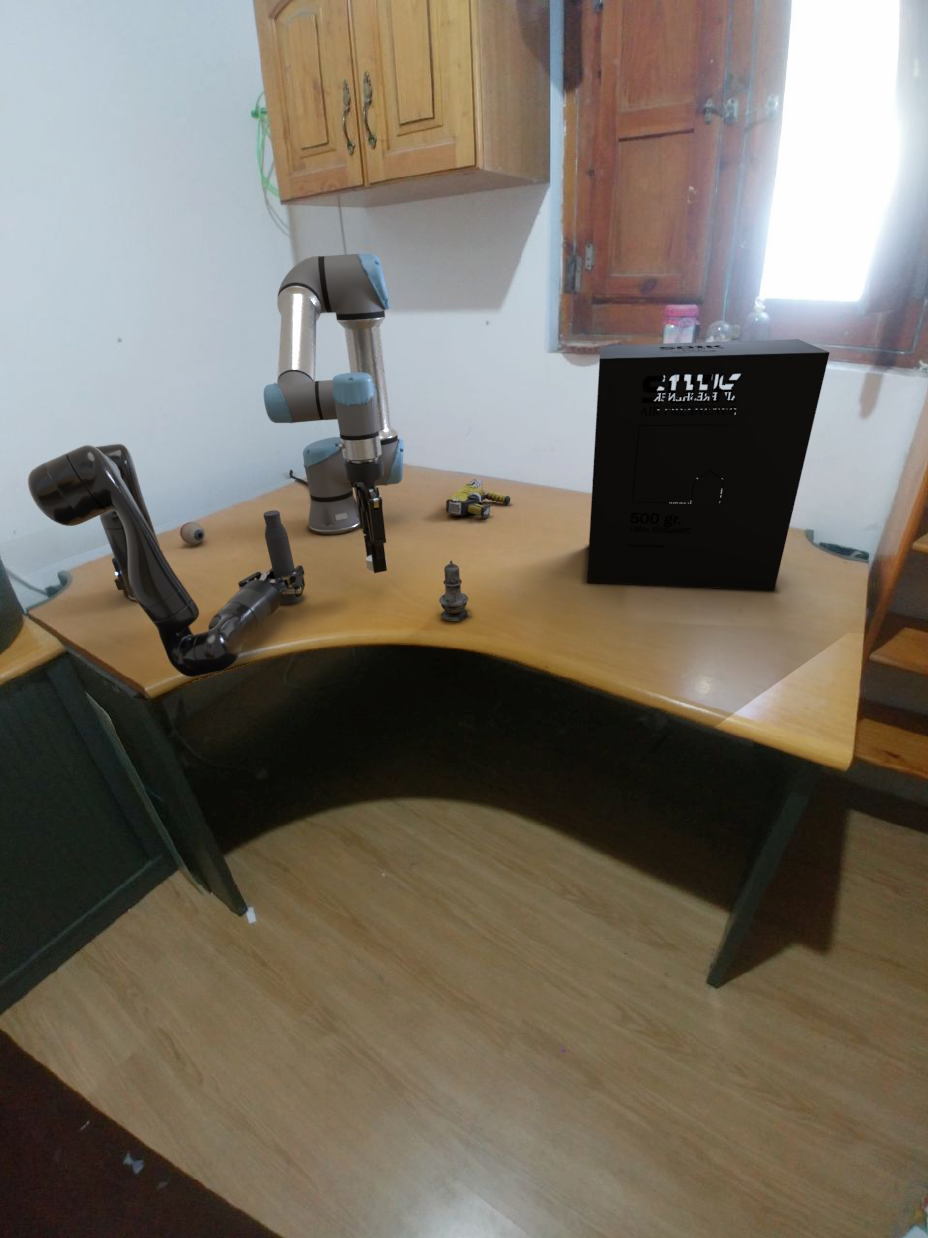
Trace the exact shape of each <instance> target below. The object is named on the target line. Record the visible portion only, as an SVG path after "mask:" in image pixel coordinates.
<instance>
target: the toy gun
mask: <svg viewBox="0 0 928 1238" xmlns="http://www.w3.org/2000/svg"><path fill="white" fill-rule="evenodd" d="M482 486H483V480H481V479H478V480H477V479H476V478H474V479H472V480H471V481H470V482H469V483H466V484H465V485H463V486H462V487H461V488H460V489H458V490H457V491H456V492H455V493H454V494H452V495H451V496H450V497H449V498H448V499H446V501H445V512H446V513H447V514H450V516H454V517H456V516H467V515H477V516H479V517H480V519H481V520H484V519H486V518H487V517H489V516H490V513H491V504H490V503H485V504H484V502H483V501H485V500H488V501H491V502H496V503H499V504H501V503H502V504H504V505H509V504H510V503H511V497H510V495H503V494H500V493H495V492H492V491H487V493H486V494H485V491H484V490H483V488H481V487H482Z"/></svg>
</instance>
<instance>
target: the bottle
mask: <svg viewBox="0 0 928 1238" xmlns="http://www.w3.org/2000/svg"><path fill="white" fill-rule="evenodd" d="M262 517H263V519H264V522H265V529H264V539H265V543H266V548H267V552H268V555H269V560H270V565H271V568H272V569H273V574H274V578H275V579H277V578H279V577H280V576H282V575H288V574H290V573H292V571H293V570H294V569H295V568H296V567H295V563H294V558H293V554H292V549H291V544H290V540H289V534H288V532H287V529H286V527H285V526H284V524H283V523H282V519H281V512H280V511H279V510H273V509H272V510H267V511H264V512H263V514H262ZM290 582H292V578H291V579H290ZM301 600H302V596H300V597H296V596H295V594H288V595H287V597H285V598H283V599H281V602H280V604H281V605H284V606H290V605H295V604H296V603H299V602H300V601H301Z"/></svg>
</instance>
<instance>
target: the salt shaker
mask: <svg viewBox="0 0 928 1238" xmlns="http://www.w3.org/2000/svg"><path fill="white" fill-rule="evenodd" d="M443 570H444V580H443V582H442V583H443V585H444V591H445V593H444V594H442V595H441V596H440V597H439V598H438V602H439V603H440V606H441V608H442V609H443V611H442V613H441V617H442V619H444V620H445V621H448V622H449V621H450V622H459V621H463V620H465V619H466V618H467V617H468V614H469V613H468V611H467V609H466V607H467V605H468V602H469V596H468V595H467V594H466V593H463V592H462V589H461V587H462V586H461V584H462V582H463V581H462V579H461V578H460V568H459V565H457V564H455V563H454V562H453V560H450V561H449V564H447V565H445V566H444V569H443Z"/></svg>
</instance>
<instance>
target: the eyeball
mask: <svg viewBox="0 0 928 1238" xmlns="http://www.w3.org/2000/svg"><path fill="white" fill-rule="evenodd" d="M179 532H180V533H179V535H180V538H181V539H182V542H184V543H185V544H187V545H191V546H192V545H193V546H194V545H199V544H200V543H202V542H203V540H204V539H205V535H206V533H205V528H204V527H203V526H202V525H201V524H200V523H198V522H195V521H190V522H189V521H188V522H186V523H184V524H183V525H182V526H181V528H180V530H179Z"/></svg>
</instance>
